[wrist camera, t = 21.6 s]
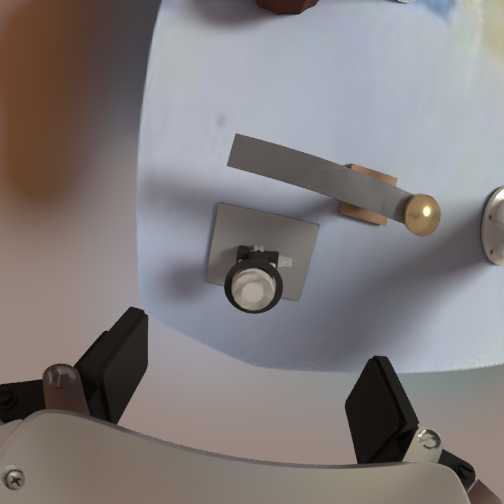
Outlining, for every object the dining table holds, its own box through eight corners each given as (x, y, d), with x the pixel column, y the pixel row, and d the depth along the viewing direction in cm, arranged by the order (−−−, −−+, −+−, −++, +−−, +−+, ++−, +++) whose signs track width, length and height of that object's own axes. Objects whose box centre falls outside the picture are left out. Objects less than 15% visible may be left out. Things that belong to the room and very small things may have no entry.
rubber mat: (318, 224, 33) (319, 225, 33) (297, 298, 36) (298, 301, 36) (219, 202, 33) (218, 203, 33) (206, 279, 36) (205, 281, 36)
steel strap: (414, 232, 22) (432, 241, 19) (230, 170, 22) (223, 171, 19) (426, 198, 21) (445, 203, 18) (240, 132, 21) (236, 126, 18)
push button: (293, 238, 33) (302, 268, 24) (288, 280, 35) (293, 322, 25) (237, 232, 34) (224, 260, 24) (234, 274, 35) (221, 315, 26)
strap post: (394, 177, 31) (438, 185, 21) (382, 224, 33) (421, 248, 23) (350, 163, 31) (383, 164, 21) (338, 212, 33) (366, 232, 23)
